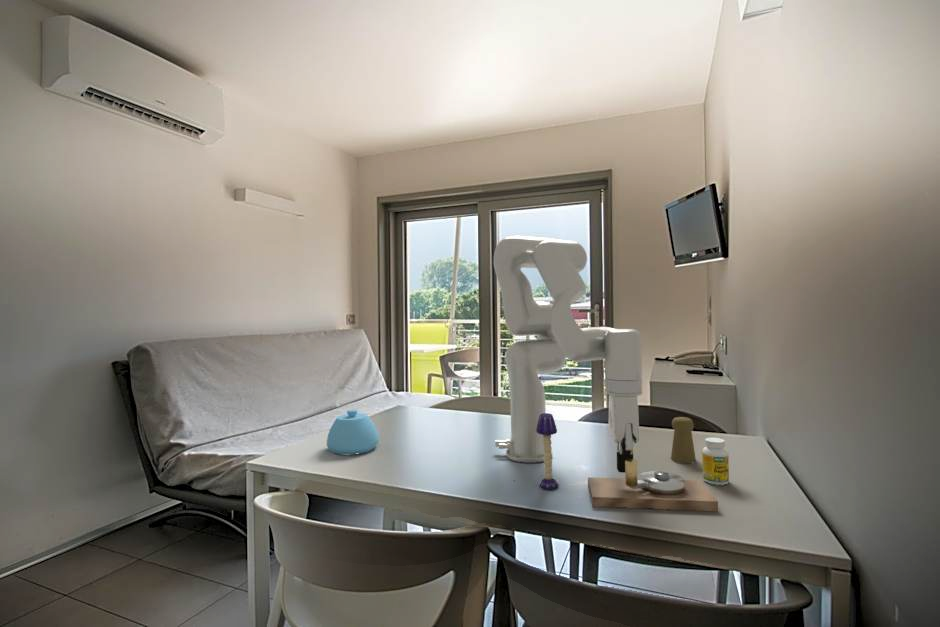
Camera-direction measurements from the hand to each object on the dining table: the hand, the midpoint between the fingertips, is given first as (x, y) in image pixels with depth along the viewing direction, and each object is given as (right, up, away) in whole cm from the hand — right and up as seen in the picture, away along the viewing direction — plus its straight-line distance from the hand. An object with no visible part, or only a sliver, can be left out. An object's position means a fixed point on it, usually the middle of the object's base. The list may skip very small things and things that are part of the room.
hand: (625, 471), depth 103 cm
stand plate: (+4, -5, -2) cm, 7 cm away
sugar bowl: (-68, -6, +39) cm, 79 cm away
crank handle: (+5, -3, -2) cm, 6 cm away
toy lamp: (-16, -6, +5) cm, 18 cm away
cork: (+22, -4, +22) cm, 31 cm away
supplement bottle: (+23, -5, +6) cm, 24 cm away
